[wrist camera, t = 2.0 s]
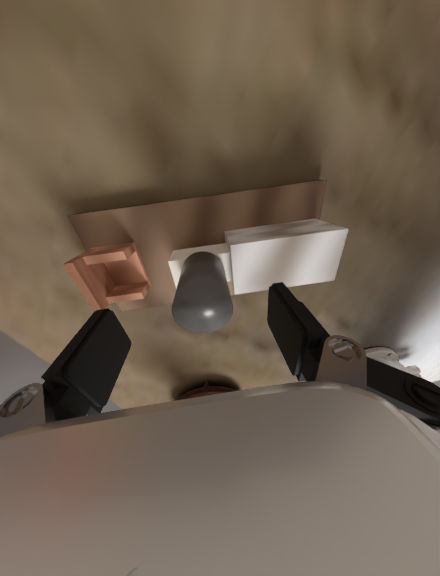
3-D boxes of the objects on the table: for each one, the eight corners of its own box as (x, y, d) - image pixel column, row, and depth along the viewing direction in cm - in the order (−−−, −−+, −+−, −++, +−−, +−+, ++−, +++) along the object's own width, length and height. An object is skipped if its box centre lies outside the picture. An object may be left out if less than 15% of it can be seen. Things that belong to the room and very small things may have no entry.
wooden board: (319, 180, 18) (369, 178, 12) (303, 280, 24) (331, 307, 19) (75, 214, 17) (19, 226, 12) (123, 305, 24) (100, 340, 18)
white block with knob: (305, 227, 18) (382, 258, 10) (300, 262, 20) (360, 310, 12) (171, 245, 18) (147, 292, 10) (180, 279, 20) (166, 338, 12)
